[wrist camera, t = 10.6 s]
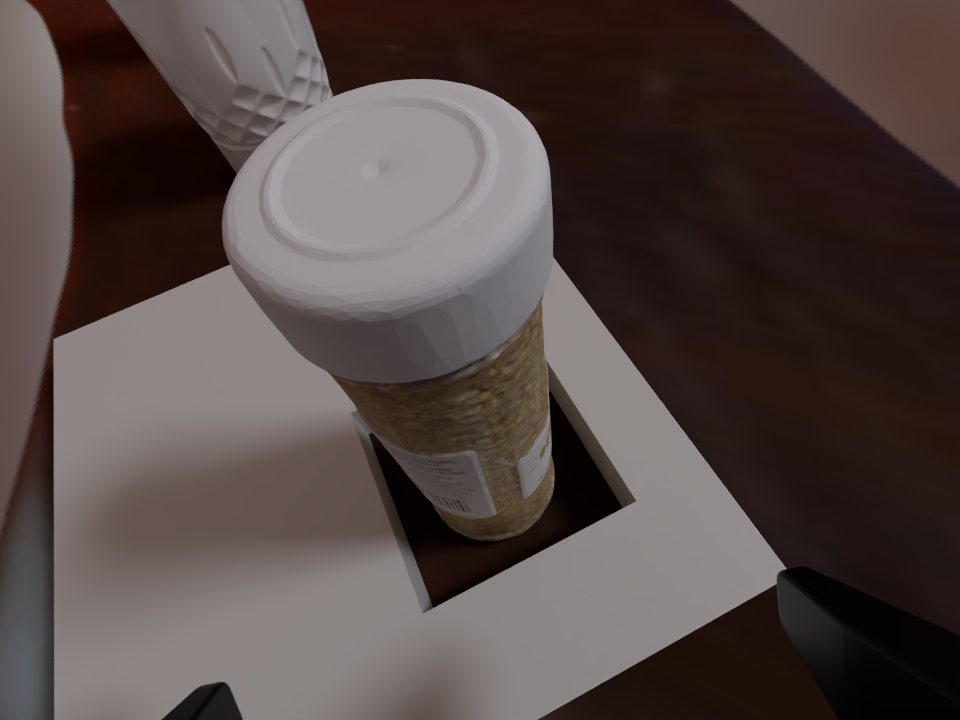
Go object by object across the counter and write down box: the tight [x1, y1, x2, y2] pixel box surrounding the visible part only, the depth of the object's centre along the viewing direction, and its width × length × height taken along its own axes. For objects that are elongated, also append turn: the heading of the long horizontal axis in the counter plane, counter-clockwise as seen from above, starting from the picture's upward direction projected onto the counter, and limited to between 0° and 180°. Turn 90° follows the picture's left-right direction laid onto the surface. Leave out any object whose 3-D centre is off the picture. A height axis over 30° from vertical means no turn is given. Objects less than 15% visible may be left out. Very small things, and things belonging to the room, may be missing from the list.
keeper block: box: [54, 258, 786, 720], centre depth 18 cm, size 20×20×2 cm
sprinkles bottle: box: [222, 79, 555, 541], centre depth 12 cm, size 5×5×13 cm
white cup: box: [106, 0, 333, 173], centre depth 25 cm, size 8×8×10 cm
